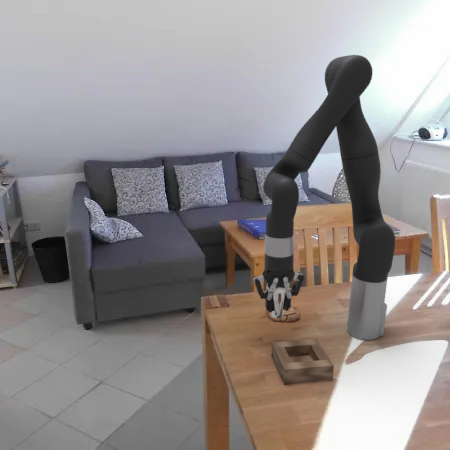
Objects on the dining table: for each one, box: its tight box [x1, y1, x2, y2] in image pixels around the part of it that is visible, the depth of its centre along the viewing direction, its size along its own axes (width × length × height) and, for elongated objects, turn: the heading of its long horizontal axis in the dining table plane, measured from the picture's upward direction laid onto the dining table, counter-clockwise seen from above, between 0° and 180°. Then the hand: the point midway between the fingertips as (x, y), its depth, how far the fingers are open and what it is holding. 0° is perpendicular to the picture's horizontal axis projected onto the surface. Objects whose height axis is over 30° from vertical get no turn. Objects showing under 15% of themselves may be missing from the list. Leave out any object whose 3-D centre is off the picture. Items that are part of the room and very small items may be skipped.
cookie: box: [265, 304, 301, 324], centre depth 147 cm, size 10×11×3 cm
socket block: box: [270, 338, 335, 385], centre depth 121 cm, size 12×12×4 cm
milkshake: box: [271, 283, 291, 319], centre depth 130 cm, size 4×5×10 cm
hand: (277, 310), depth 131 cm, fingers closed on milkshake, 4 cm apart
